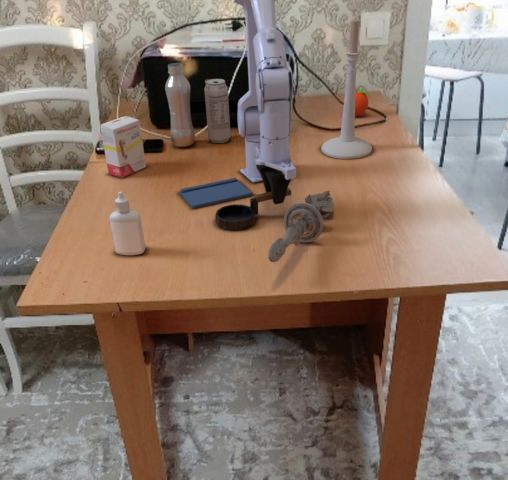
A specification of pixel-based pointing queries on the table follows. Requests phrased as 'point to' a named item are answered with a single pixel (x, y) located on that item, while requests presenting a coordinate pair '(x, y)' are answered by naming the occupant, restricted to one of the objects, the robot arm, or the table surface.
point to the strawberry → (360, 102)
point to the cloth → (214, 193)
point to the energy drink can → (217, 110)
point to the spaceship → (302, 223)
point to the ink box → (123, 146)
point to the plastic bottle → (179, 106)
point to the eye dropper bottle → (126, 228)
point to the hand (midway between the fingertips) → (275, 200)
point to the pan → (241, 213)
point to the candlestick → (349, 110)
